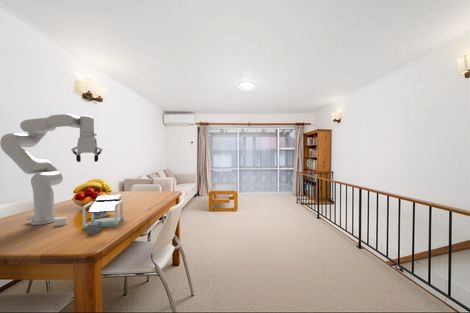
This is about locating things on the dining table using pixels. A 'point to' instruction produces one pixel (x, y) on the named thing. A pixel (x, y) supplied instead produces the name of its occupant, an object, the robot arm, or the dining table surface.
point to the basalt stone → (94, 227)
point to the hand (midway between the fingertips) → (87, 161)
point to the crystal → (101, 214)
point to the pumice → (60, 221)
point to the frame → (106, 221)
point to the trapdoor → (105, 204)
